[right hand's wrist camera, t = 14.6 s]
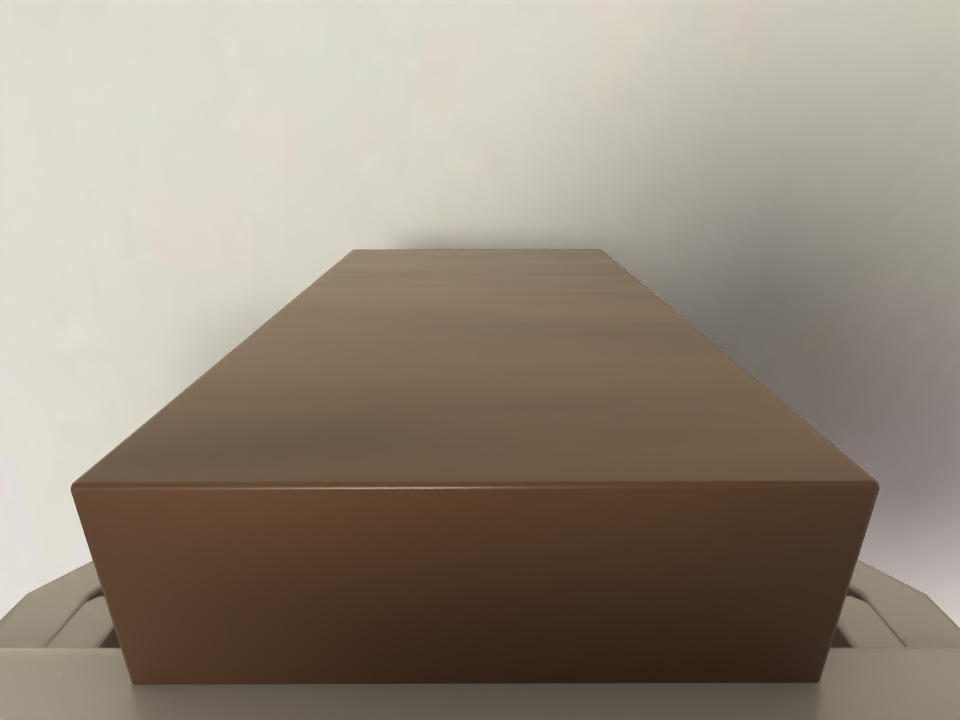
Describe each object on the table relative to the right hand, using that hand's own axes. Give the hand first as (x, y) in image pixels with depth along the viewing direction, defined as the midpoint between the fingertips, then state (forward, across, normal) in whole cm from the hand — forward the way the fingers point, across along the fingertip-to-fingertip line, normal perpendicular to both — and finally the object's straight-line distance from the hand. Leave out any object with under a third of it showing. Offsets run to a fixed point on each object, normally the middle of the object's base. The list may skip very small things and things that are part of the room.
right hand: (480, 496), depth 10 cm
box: (+5, 0, -9) cm, 10 cm away
